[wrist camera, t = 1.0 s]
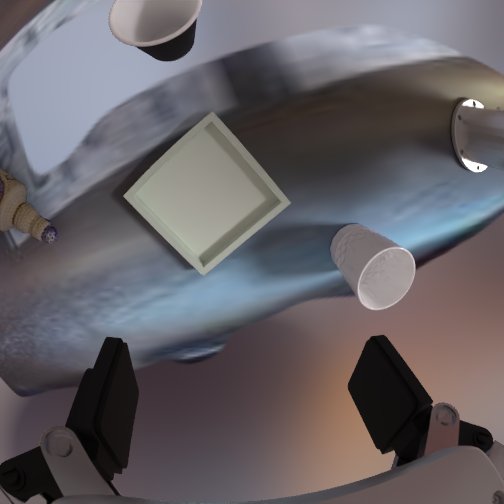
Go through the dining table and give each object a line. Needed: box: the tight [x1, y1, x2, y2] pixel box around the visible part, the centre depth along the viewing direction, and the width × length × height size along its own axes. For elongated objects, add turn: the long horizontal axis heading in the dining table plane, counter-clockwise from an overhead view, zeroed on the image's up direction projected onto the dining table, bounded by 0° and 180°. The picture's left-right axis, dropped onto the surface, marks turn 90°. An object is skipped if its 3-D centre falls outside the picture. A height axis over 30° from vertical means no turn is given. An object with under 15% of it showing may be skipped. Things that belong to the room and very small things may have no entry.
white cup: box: [330, 224, 415, 310], centre depth 33 cm, size 8×8×10 cm
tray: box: [124, 111, 291, 276], centre depth 31 cm, size 14×14×2 cm
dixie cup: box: [109, 0, 202, 61], centre depth 20 cm, size 8×8×11 cm
